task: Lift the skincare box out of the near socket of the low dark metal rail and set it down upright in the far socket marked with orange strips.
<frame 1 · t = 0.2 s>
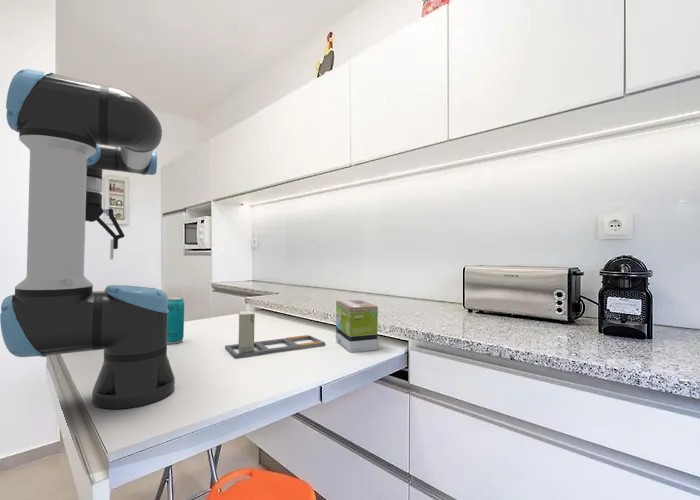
hand: (85, 259, 110), 28 cm above the table, tool pointing down, fingers open, 13 cm apart
tea box: (355, 346, 118), on the table
socket rail: (276, 347, 115), on the table
skincare box: (246, 351, 109), resting in socket rail
beverage can: (174, 343, 118), on the table
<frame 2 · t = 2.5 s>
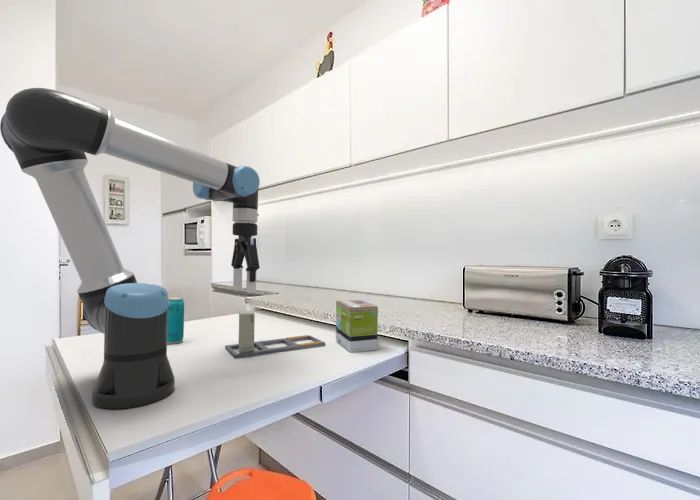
hand: (244, 290, 109), 19 cm above the table, tool pointing down, fingers open, 13 cm apart
nothing on the table moved.
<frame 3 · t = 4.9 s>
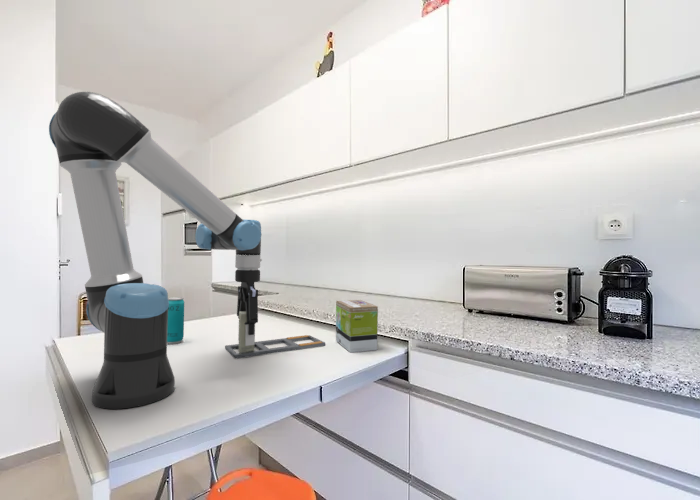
hand: (246, 342, 109), 3 cm above the table, tool pointing down, fingers closed on skincare box, 7 cm apart
skincare box: (246, 351, 109), resting in socket rail, touching gripper
everything else where it was.
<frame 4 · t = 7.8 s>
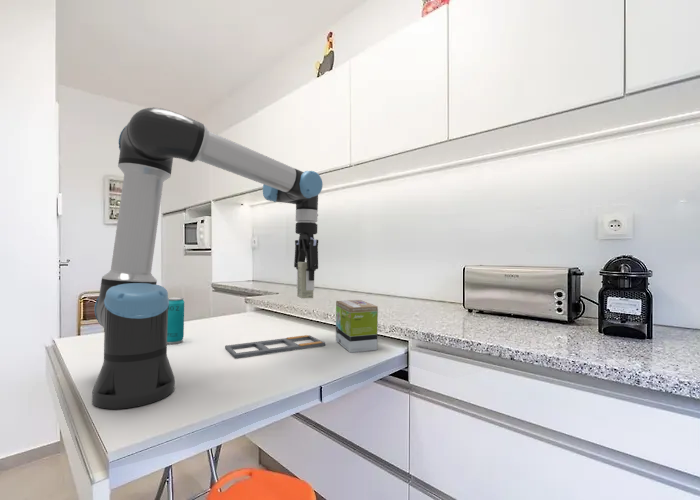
hand: (305, 289, 120), 19 cm above the table, tool pointing down, fingers closed on skincare box, 7 cm apart
skincare box: (304, 297, 120), point 16 cm above the table, touching gripper
everything else where it was.
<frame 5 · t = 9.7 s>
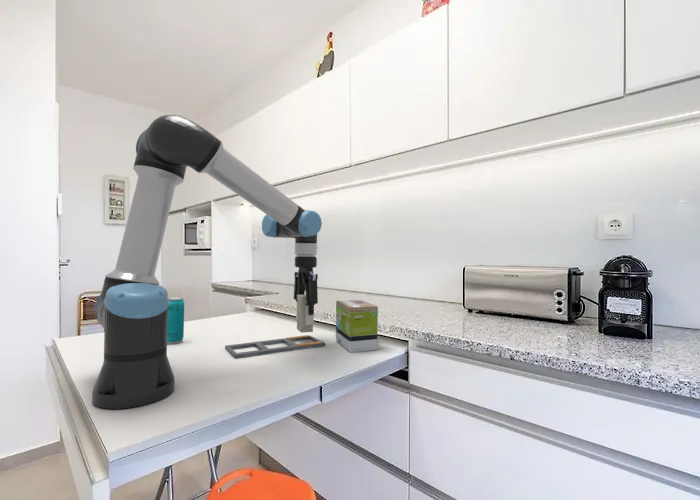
hand: (304, 322, 120), 7 cm above the table, tool pointing down, fingers closed on skincare box, 7 cm apart
skincare box: (304, 331, 120), point 4 cm above the table, touching gripper
everything else where it was.
when the fingers open (4 cm above the table, at t = 11.2 s): skincare box drops 1 cm, resting in socket rail.
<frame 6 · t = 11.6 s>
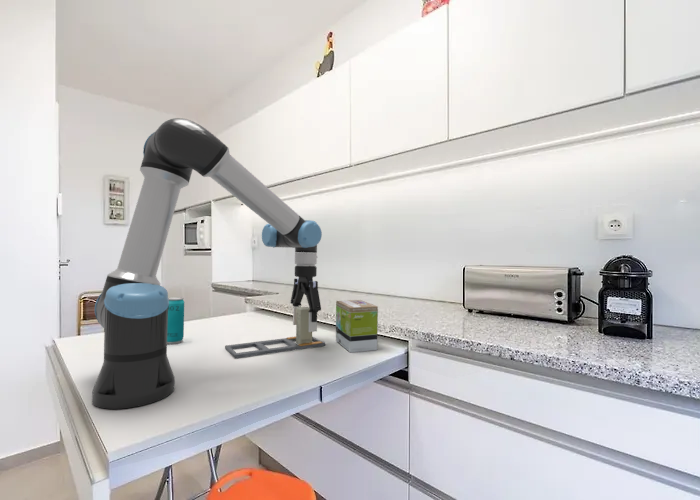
hand: (304, 327, 120), 5 cm above the table, tool pointing down, fingers open, 12 cm apart
skincare box: (303, 343, 120), resting in socket rail
everything else where it was.
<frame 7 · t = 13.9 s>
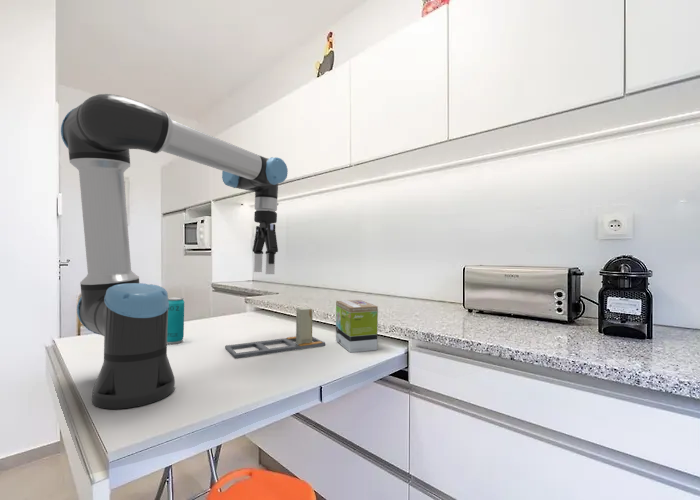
hand: (263, 273, 119), 24 cm above the table, tool pointing down, fingers open, 13 cm apart
nothing on the table moved.
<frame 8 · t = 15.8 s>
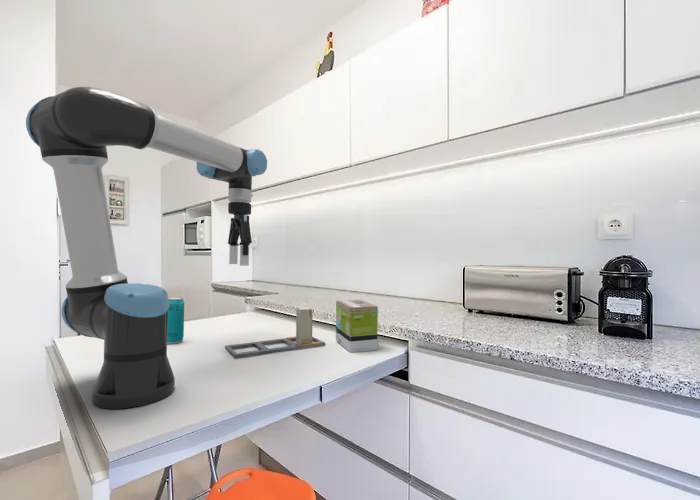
hand: (238, 264, 119), 27 cm above the table, tool pointing down, fingers open, 13 cm apart
nothing on the table moved.
at the end: skincare box inside the target area (0.1 cm from its centre), resting in socket rail; skincare box tilted 0°; the gripper is holding nothing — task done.
